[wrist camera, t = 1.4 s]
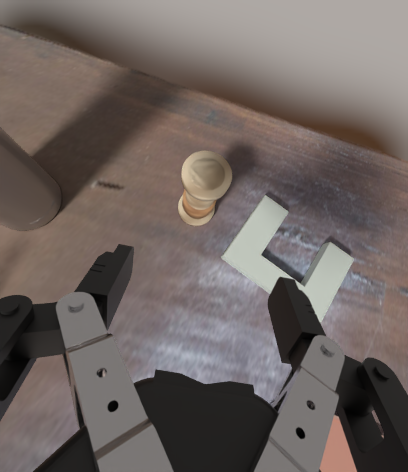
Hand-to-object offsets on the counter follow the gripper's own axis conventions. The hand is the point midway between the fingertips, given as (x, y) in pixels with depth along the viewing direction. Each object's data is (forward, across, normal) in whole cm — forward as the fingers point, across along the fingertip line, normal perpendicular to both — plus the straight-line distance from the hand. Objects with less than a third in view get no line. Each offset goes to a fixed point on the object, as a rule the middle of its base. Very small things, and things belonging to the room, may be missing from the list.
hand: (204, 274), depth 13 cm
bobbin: (+25, 0, +8) cm, 26 cm away
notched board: (+21, -15, +11) cm, 28 cm away
